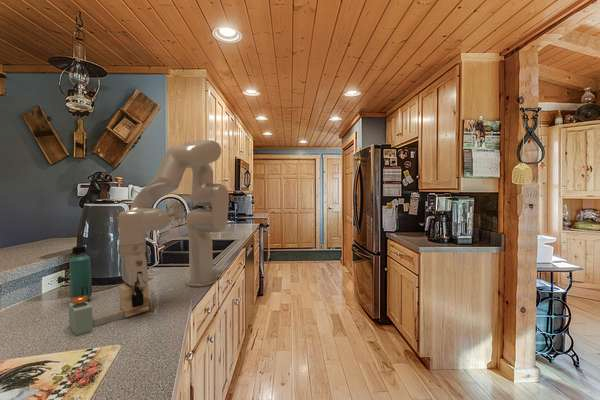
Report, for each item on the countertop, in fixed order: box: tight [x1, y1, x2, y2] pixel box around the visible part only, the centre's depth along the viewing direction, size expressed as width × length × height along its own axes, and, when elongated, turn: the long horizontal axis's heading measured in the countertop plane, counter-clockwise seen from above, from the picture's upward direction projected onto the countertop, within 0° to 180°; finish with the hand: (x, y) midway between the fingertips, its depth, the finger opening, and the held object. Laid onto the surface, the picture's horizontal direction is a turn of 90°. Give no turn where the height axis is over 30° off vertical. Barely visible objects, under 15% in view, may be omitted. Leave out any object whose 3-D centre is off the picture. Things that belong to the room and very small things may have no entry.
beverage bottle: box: [68, 245, 93, 301], centre depth 108 cm, size 6×7×20 cm
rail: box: [92, 298, 153, 328], centre depth 96 cm, size 16×4×3 cm, turn 138°
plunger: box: [71, 295, 89, 308], centre depth 88 cm, size 4×4×6 cm
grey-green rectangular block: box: [68, 301, 94, 337], centre depth 88 cm, size 4×8×7 cm, turn 48°
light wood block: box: [118, 282, 150, 318], centre depth 98 cm, size 7×5×9 cm
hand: (134, 303), depth 99 cm, fingers closed on light wood block, 5 cm apart
